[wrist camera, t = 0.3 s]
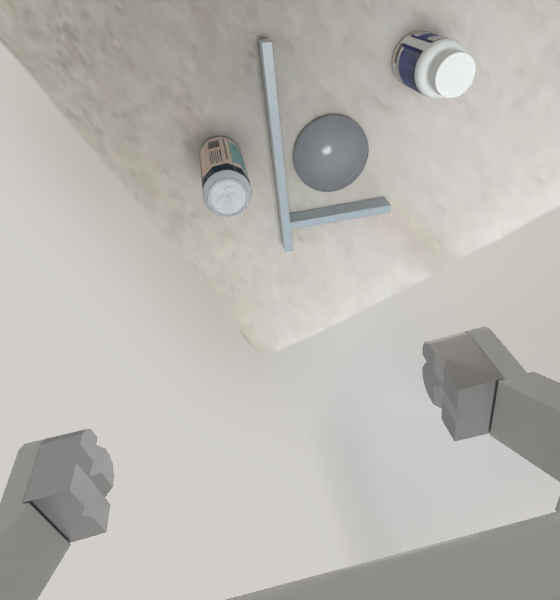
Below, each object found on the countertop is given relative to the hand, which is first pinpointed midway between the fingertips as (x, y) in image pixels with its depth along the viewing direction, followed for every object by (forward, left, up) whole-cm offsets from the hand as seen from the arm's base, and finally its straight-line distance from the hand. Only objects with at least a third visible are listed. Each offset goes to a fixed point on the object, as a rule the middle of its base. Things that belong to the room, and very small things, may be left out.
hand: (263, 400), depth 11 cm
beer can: (+10, 0, -46) cm, 47 cm away
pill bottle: (+3, +23, -46) cm, 52 cm away
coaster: (+12, +13, -46) cm, 49 cm away
